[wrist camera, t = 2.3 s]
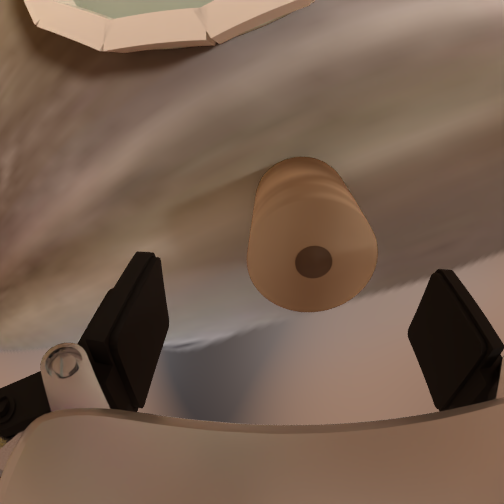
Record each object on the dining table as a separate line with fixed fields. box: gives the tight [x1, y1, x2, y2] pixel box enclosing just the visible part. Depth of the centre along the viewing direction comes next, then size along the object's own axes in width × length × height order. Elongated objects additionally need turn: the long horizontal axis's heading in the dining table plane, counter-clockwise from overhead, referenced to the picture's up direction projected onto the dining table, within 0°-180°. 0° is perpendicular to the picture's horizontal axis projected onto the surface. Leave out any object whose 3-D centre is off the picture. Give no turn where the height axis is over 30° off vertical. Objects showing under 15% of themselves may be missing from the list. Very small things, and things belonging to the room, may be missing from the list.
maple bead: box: [247, 157, 378, 312], centre depth 14 cm, size 5×5×6 cm
